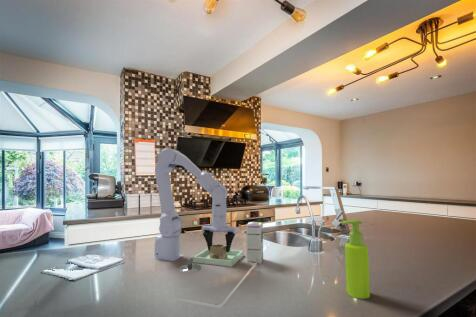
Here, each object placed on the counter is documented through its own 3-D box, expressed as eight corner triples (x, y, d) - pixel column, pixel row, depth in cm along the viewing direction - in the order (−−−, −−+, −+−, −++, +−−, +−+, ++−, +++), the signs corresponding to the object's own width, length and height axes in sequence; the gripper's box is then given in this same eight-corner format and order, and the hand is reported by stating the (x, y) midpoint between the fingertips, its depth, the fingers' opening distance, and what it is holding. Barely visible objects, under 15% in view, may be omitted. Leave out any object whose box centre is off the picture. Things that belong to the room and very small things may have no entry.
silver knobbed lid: (173, 272, 85) (173, 261, 86) (185, 264, 93) (185, 254, 93) (194, 275, 83) (194, 263, 83) (205, 267, 90) (205, 256, 91)
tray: (192, 263, 94) (192, 257, 95) (208, 253, 107) (208, 247, 107) (231, 268, 89) (231, 261, 90) (243, 257, 102) (243, 251, 102)
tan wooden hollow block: (215, 256, 102) (215, 243, 102) (227, 257, 100) (227, 244, 100) (208, 261, 95) (208, 247, 96) (221, 262, 94) (221, 248, 94)
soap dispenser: (339, 289, 72) (336, 219, 74) (362, 288, 73) (359, 218, 74) (349, 299, 66) (347, 222, 68) (374, 298, 67) (371, 222, 69)
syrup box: (261, 263, 94) (261, 224, 95) (246, 262, 95) (246, 223, 97) (263, 259, 100) (263, 221, 101) (248, 258, 101) (248, 221, 102)
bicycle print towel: (125, 264, 96) (125, 258, 96) (71, 284, 77) (71, 277, 78) (92, 257, 104) (92, 252, 104) (36, 274, 85) (36, 267, 86)
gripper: (198, 216, 98) (197, 251, 97) (232, 218, 94) (232, 255, 92) (206, 213, 105) (205, 247, 104) (239, 215, 100) (239, 250, 99)
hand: (219, 250), depth 99 cm, fingers open, 7 cm apart
